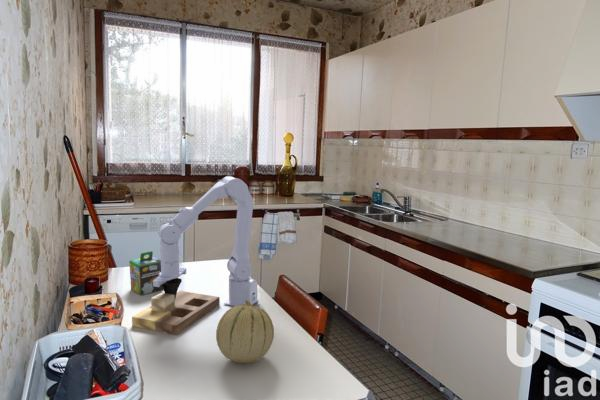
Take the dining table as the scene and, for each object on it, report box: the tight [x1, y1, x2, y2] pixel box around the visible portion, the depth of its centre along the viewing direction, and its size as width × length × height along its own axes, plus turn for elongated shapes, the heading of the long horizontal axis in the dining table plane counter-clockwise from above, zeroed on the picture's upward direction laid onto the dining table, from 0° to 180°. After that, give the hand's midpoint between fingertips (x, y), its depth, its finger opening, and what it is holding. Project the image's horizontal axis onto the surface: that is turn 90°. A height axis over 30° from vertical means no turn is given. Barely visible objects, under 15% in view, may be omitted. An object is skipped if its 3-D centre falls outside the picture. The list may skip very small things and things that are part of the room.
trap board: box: [131, 290, 221, 336], centre depth 137 cm, size 16×24×3 cm, turn 160°
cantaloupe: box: [215, 301, 275, 364], centre depth 109 cm, size 15×15×15 cm
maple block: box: [150, 292, 175, 313], centre depth 135 cm, size 5×5×4 cm
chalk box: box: [128, 251, 164, 296], centre depth 159 cm, size 9×9×15 cm
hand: (171, 301), depth 139 cm, fingers closed
